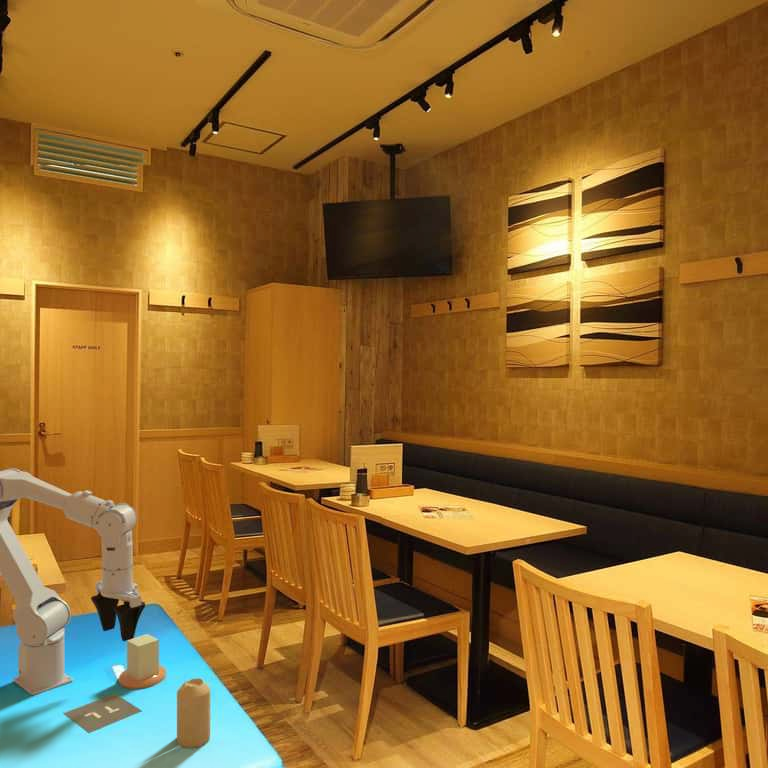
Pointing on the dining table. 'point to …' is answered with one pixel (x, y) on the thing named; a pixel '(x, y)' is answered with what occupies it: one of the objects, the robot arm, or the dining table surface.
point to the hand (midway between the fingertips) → (118, 634)
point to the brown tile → (102, 712)
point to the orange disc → (150, 681)
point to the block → (142, 657)
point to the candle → (193, 714)
